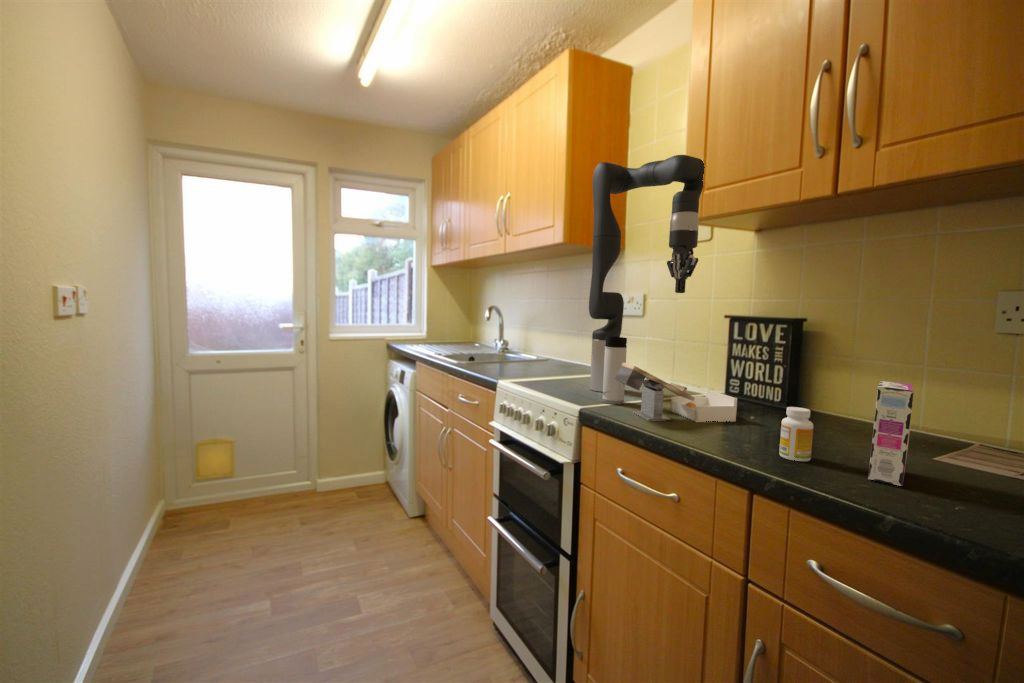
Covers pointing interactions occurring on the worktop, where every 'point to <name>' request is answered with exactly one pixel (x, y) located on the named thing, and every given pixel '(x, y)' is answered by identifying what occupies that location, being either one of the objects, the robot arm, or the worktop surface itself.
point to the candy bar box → (891, 432)
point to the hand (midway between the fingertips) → (680, 292)
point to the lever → (636, 376)
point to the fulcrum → (652, 401)
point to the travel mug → (613, 369)
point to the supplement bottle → (796, 435)
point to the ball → (691, 405)
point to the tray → (707, 407)
